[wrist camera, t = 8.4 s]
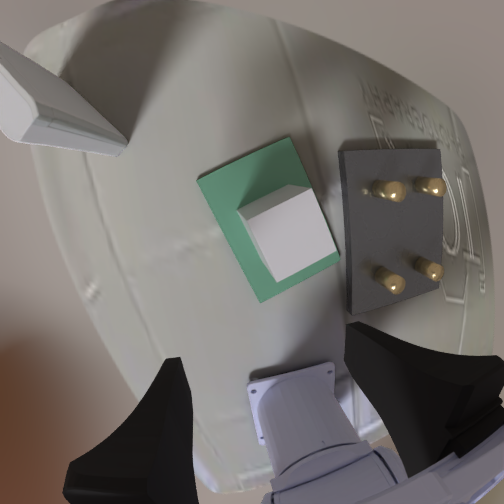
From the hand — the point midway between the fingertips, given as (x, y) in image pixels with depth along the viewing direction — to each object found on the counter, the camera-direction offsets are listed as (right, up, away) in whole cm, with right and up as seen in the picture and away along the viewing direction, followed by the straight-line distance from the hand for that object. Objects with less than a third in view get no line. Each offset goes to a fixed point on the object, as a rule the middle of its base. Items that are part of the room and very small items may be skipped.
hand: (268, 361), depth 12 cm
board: (+1, +7, +10) cm, 12 cm away
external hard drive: (-12, +14, +5) cm, 19 cm away
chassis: (+11, +7, +11) cm, 17 cm away
